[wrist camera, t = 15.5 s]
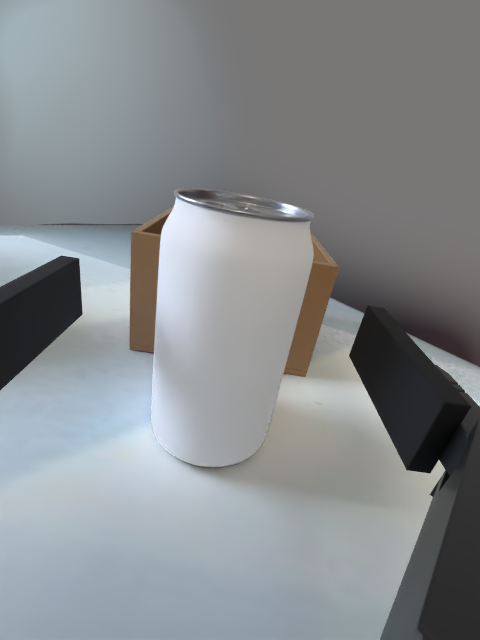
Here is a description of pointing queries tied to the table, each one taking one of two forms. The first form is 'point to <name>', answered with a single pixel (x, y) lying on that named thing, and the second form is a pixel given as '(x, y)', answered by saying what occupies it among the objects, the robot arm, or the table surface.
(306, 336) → the box
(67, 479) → the table surface
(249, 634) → the table surface
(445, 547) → the robot arm
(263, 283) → the can
